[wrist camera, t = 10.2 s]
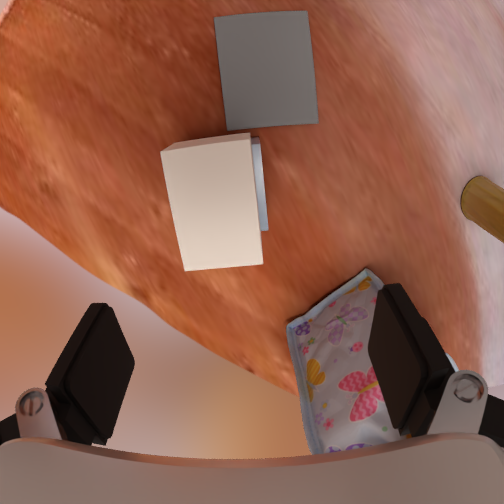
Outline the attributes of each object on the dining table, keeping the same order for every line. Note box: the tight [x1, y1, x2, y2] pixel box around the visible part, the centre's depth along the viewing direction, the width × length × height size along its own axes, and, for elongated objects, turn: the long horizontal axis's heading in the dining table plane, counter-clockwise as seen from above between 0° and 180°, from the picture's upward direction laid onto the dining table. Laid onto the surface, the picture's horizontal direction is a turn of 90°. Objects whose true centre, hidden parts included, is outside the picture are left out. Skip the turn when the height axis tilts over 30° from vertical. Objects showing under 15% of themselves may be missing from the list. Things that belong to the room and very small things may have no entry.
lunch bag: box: [286, 268, 459, 455], centre depth 31 cm, size 22×17×26 cm
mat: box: [214, 11, 319, 131], centre depth 27 cm, size 12×9×1 cm
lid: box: [160, 133, 263, 271], centre depth 26 cm, size 10×6×4 cm, turn 6°
